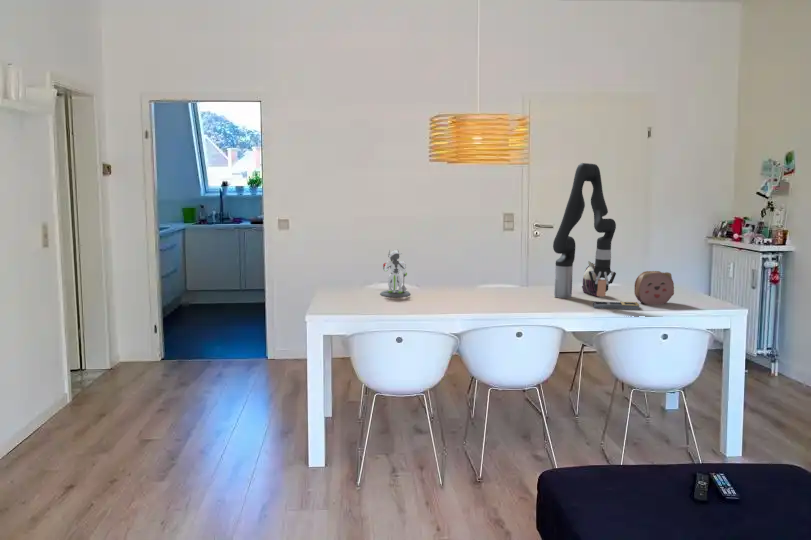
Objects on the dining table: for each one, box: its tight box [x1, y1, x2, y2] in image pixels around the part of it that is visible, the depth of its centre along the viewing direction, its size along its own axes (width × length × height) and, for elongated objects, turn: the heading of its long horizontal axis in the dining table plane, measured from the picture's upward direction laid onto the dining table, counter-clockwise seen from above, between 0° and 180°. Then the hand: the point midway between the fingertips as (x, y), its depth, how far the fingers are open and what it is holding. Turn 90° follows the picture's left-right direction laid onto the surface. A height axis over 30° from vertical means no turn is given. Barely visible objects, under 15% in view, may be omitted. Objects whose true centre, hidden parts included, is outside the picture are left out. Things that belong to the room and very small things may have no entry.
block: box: [597, 278, 607, 297], centre depth 372 cm, size 4×4×8 cm
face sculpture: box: [634, 270, 675, 305], centre depth 383 cm, size 20×7×17 cm, turn 101°
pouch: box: [581, 260, 602, 298], centre depth 407 cm, size 25×8×19 cm, turn 15°
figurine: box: [379, 249, 411, 298], centre depth 404 cm, size 17×17×25 cm
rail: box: [592, 300, 640, 310], centre depth 371 cm, size 22×8×2 cm, turn 81°
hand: (601, 291), depth 372 cm, fingers closed on block, 4 cm apart
